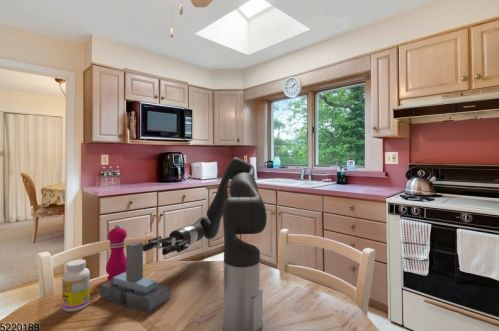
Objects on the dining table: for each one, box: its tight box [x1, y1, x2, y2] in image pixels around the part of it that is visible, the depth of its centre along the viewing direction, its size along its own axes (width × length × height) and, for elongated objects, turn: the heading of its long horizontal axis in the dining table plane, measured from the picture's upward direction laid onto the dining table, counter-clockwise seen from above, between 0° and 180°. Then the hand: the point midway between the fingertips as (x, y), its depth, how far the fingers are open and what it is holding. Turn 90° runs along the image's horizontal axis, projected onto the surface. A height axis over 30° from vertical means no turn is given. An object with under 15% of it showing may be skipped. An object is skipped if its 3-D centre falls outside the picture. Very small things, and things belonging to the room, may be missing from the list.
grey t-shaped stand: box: [113, 240, 158, 294], centre depth 80 cm, size 14×4×16 cm, turn 66°
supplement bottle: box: [61, 259, 91, 312], centre depth 75 cm, size 7×7×13 cm
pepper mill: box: [105, 223, 128, 282], centre depth 92 cm, size 7×7×20 cm
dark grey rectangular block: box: [99, 279, 170, 314], centre depth 80 cm, size 20×8×4 cm, turn 66°
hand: (153, 250), depth 87 cm, fingers open, 8 cm apart
